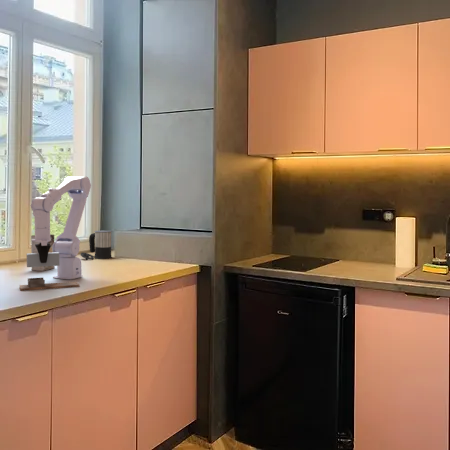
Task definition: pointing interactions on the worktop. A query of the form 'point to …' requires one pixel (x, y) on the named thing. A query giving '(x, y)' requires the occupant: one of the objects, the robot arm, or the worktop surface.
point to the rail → (34, 261)
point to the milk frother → (99, 245)
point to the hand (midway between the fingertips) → (43, 262)
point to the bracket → (45, 284)
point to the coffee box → (34, 250)
